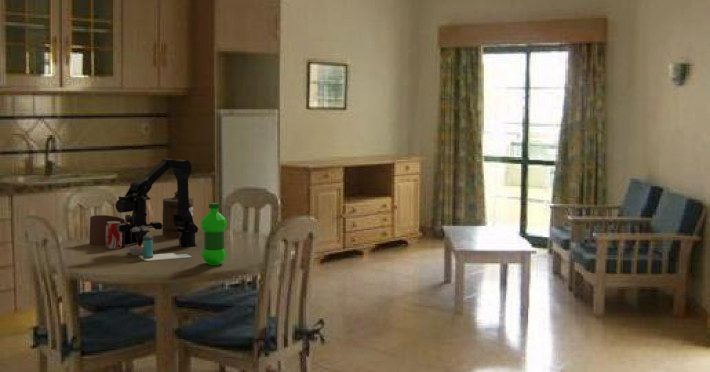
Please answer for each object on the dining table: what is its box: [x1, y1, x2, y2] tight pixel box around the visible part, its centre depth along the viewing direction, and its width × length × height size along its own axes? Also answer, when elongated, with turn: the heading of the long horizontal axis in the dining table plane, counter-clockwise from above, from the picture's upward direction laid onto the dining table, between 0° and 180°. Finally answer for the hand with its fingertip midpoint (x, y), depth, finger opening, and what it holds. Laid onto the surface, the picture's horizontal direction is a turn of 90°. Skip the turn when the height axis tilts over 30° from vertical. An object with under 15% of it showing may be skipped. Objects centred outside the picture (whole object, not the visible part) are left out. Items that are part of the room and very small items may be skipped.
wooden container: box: [162, 191, 194, 239], centre depth 402 cm, size 15×15×22 cm
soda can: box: [105, 221, 122, 250], centre depth 364 cm, size 7×7×12 cm
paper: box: [138, 252, 182, 262], centre depth 346 cm, size 15×11×1 cm
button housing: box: [128, 246, 143, 256], centre depth 355 cm, size 7×7×2 cm
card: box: [176, 253, 193, 259], centre depth 349 cm, size 4×7×1 cm, turn 30°
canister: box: [142, 235, 154, 259], centre depth 343 cm, size 4×4×9 cm
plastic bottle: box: [200, 202, 228, 266], centre depth 334 cm, size 10×10×25 cm
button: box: [133, 244, 143, 249], centre depth 355 cm, size 4×4×3 cm
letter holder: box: [89, 214, 138, 249], centre depth 375 cm, size 10×20×14 cm, turn 67°
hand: (139, 246), depth 354 cm, fingers closed, pressing on button
